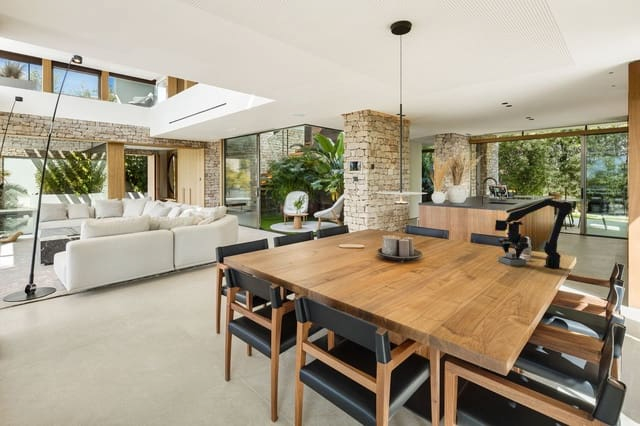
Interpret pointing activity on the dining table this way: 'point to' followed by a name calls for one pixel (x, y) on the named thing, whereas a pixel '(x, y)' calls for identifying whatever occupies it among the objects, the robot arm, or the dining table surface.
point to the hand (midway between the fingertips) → (512, 256)
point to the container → (528, 250)
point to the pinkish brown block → (525, 257)
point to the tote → (512, 261)
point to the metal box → (511, 256)
